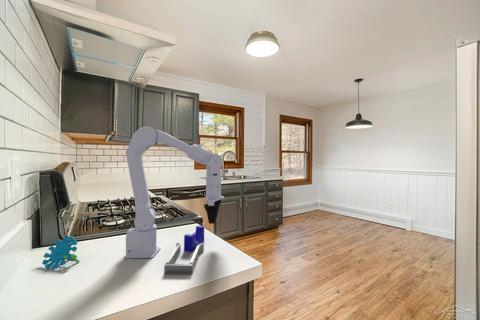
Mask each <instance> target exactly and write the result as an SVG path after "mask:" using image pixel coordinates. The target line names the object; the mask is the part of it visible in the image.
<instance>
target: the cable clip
mask: <svg viewBox="0 0 480 320" xmlns="http://www.w3.org/2000/svg"><path fill="white" fill-rule="evenodd" d="M204 242H205V226H204V225H196V226H195V232H193V233H192V234H188V233H186V234H184V235H183V251H184V252H186V253H194V252H195V250H196V247H197V245H199V244H200V243H204Z"/></svg>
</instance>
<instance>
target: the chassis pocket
mask: <svg viewBox="0 0 480 320" xmlns="http://www.w3.org/2000/svg"><path fill="white" fill-rule="evenodd" d="M204 244H205V243H204V242H202V243H200V244H199V245H197V247H196V249H195V250H194V251H193V254H192V257H191V259H190V262H189V263H175V262H176V261H177V259H178V257H179V256H180V254H181V252H182V251H181V246H182V245H181V243H180V242H176V244H175V249H174V250H173V252H172V253H171V254H170V256H169V257H168V259H167V261H166V262H165V264H164V265H163V266H164V268H163V269H164V271H163V272H164V275H192V274H193V273H194V270H195V268H196V265H197V262H198V259H199V257H200V253H202V252H203V251H204V249H205V247H204V246H205V245H204Z"/></svg>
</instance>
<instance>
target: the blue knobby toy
mask: <svg viewBox="0 0 480 320" xmlns="http://www.w3.org/2000/svg"><path fill="white" fill-rule="evenodd" d="M76 245H78V241H77V240H75V238H74V237H73V236H70V237H67V236H64V237H63V239H62V240H61V239H59V240H56V241H55V246H54V245H50V246H49V247H48V249H47V250H49V251H51V252H50V253H48V252H45V253H44V255H43V258H45V259H44V260H42V262H41V263H42V265H44V267H45V268H46V269H48V270H49V269H53V270H55V269H57V268H58V266H64V265H65V264H66V260H67V261H70V262H75V263H77V264H78V263H80V261H81V260H79V259H78V255H76V254H75V253H76V251H77V250H78V247H77V246H76ZM70 252H75V253H70ZM47 258H48V259H47Z"/></svg>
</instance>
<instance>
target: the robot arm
mask: <svg viewBox="0 0 480 320" xmlns="http://www.w3.org/2000/svg"><path fill="white" fill-rule="evenodd" d="M156 143H157V145H167V146H170V147H171V148H174V149H176V150H178V151H181V152H183V153H185V154H186V156H187V158H188V159H190V160H192V161H194V162H196V163H198V164H201V165H202V166H203V165H205V166H206V174H205V196H204V197H205V200H206V201H207V203H204V205H203V208H204V210H205V212H206V216H207V222H208V224H209V225H215V223H216V220H217V218H218V214H219V210H220V206H221V203H222V201H223V200H224V199H225V196H223V195H222V167H223V165H224V161H223V159H222V157H221V155H220V154H217V153H213V150H208V149H206V148H204V147H202V145H201V144H200V143H198V144H196V143H195V144H191V145H190V144H189V143H186V142H185V141H182V140H181V139H178V138H177V137H174V136H173V135H170V134H168V133H167V132H164V131H162V130H159V129H156V128H155V129H154V128H152V126H151V127H150V126H146V125H145V126H141V127H140V128H138V129H137V130H136V131H135V132H134V133H133V134H132V137H131V140H130V142H129V144H128V146H127V148H126V151H125V157H126V162H127V168H128V172H129V173H128V174H129V178H130V182H131V189H132V194H133V198H134V203H135V207H134V208H135V209H134V211H135V217H134V222H133V223H134V227H131V228H129V229H127V232H126V236H125V255H124V259H153V258H154V257H155V256H156V255H157V254H158V252H159V251H160V249H161V247H160V246H159V247H157V233H158V232H157V230H158V229H157V224H155V223H156V216H157V213H156V210H155V209H154V207H153V206H152V202H151V198H150V194H149V189H148V184H147V178H146V173H145V167H144V162H143V157H142V156H143V155H144V154H145V153H146V152H147V150H149V149H150V148H151V147H153V146H154V145H155V144H156Z"/></svg>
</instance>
